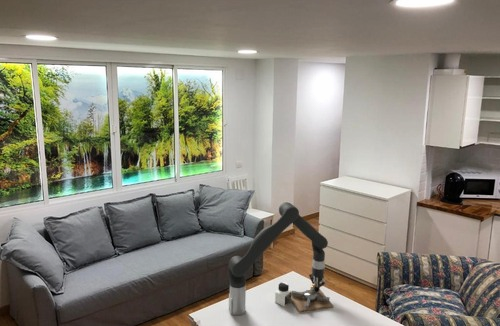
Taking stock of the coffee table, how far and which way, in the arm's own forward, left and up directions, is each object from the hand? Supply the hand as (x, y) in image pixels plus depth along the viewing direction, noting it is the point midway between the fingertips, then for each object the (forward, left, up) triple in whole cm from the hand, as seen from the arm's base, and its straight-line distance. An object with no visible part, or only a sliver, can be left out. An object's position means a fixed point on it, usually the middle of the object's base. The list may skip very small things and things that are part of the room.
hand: (316, 291), depth 241 cm
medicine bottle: (-23, -2, -3) cm, 24 cm away
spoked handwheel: (-7, -6, -1) cm, 9 cm away
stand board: (-7, -6, -3) cm, 10 cm away
